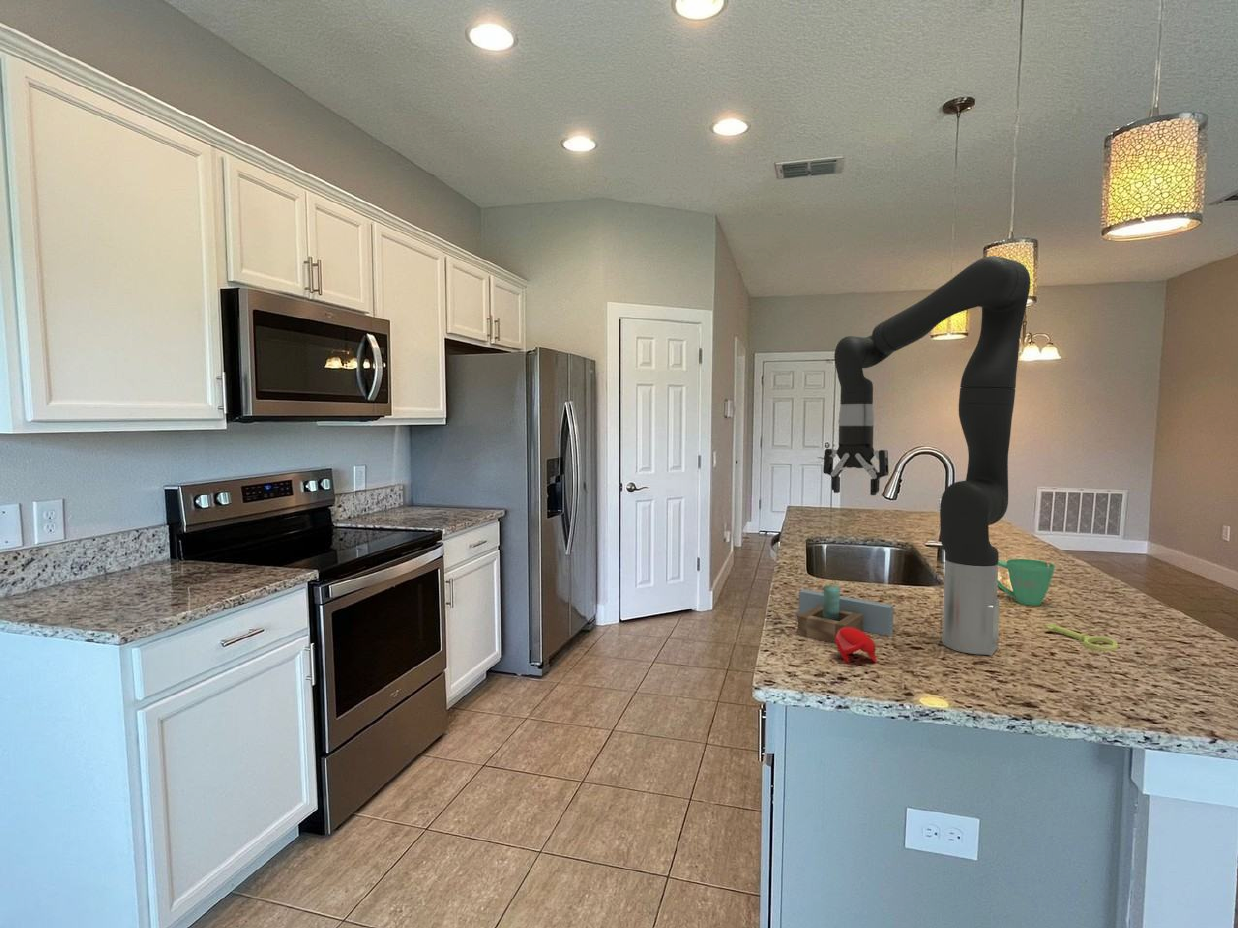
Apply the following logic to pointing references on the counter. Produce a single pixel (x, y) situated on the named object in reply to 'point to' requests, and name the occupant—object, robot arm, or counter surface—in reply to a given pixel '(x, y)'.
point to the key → (1085, 638)
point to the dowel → (831, 602)
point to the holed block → (827, 624)
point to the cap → (854, 643)
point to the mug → (1027, 580)
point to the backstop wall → (854, 610)
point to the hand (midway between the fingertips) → (854, 493)
